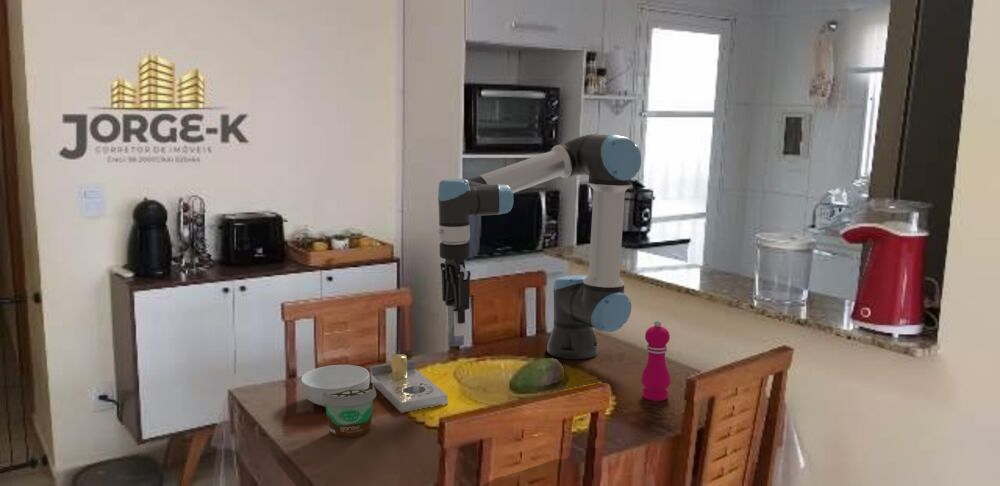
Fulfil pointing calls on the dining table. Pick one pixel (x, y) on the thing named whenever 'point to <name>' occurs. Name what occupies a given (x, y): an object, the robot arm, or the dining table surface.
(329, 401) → the food container
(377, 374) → the plate
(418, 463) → the dining table surface
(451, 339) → the steel bushing
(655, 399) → the pepper mill
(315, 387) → the cereal bowl
